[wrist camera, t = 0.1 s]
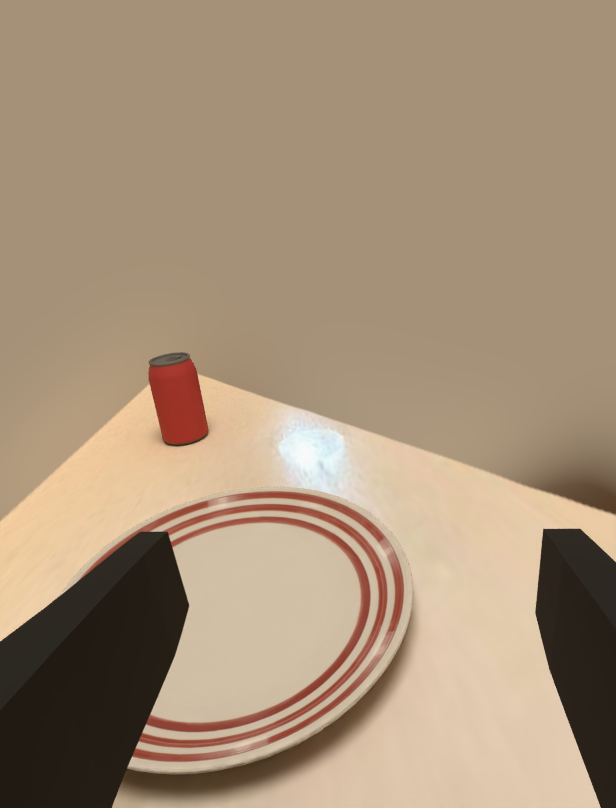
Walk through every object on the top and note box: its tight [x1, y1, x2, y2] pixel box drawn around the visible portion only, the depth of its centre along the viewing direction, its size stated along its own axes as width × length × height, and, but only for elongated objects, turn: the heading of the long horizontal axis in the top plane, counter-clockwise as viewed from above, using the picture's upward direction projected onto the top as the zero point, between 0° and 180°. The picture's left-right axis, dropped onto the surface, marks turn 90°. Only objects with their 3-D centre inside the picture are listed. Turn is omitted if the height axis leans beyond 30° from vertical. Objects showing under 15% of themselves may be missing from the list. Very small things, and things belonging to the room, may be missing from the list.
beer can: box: [149, 353, 208, 445], centre depth 72 cm, size 7×7×12 cm
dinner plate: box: [60, 487, 413, 774], centre depth 39 cm, size 27×27×3 cm
